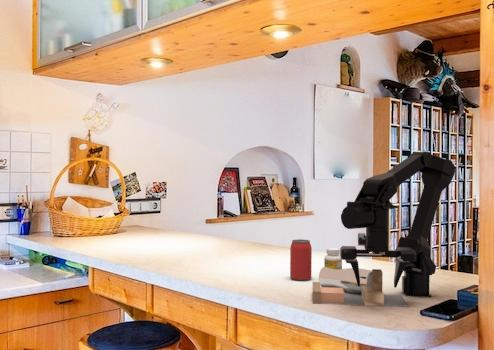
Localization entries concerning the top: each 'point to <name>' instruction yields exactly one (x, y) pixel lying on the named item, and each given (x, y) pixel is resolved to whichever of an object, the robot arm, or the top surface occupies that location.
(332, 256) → the supplement bottle
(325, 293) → the tile
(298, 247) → the beer can
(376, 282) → the two-tone stepped block
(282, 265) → the top surface
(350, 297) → the slate board
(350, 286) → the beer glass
